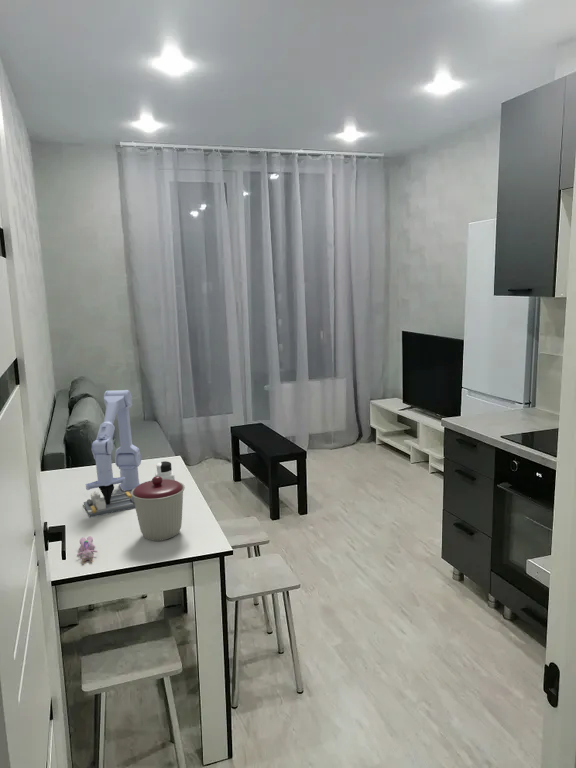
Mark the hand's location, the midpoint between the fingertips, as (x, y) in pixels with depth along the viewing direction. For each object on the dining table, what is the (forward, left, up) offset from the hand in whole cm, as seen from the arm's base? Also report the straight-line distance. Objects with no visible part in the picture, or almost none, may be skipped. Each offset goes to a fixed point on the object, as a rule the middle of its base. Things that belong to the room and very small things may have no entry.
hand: (107, 503), depth 227 cm
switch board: (-4, +3, -3) cm, 5 cm away
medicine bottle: (-10, +26, -3) cm, 27 cm away
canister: (+33, +12, -3) cm, 36 cm away
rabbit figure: (+35, -13, -3) cm, 37 cm away
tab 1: (-8, -3, -1) cm, 9 cm away
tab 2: (0, -3, -1) cm, 3 cm away
